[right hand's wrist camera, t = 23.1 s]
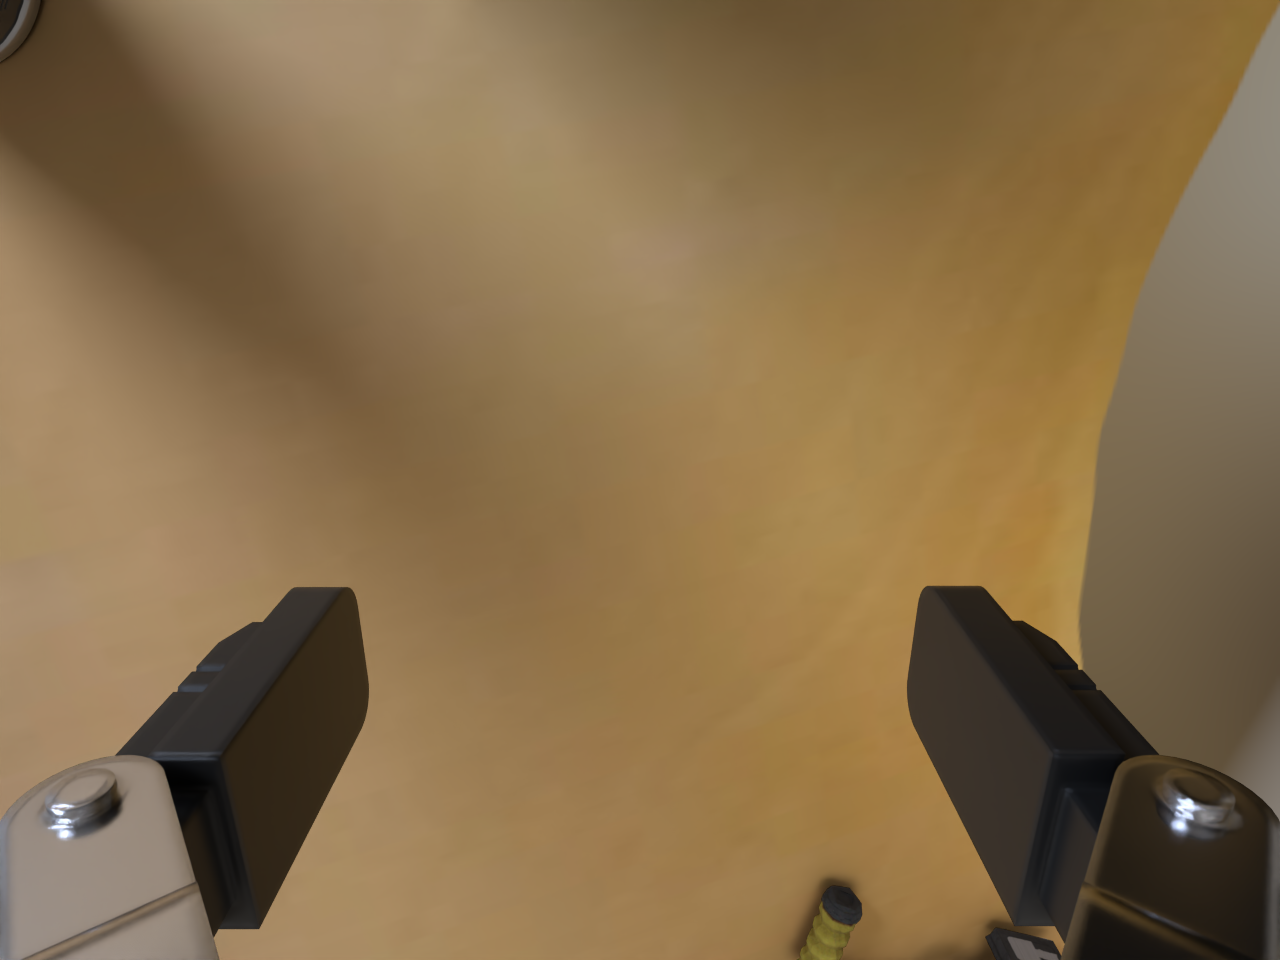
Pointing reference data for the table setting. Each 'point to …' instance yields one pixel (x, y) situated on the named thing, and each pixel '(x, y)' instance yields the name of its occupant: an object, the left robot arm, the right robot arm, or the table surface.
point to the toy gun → (841, 910)
